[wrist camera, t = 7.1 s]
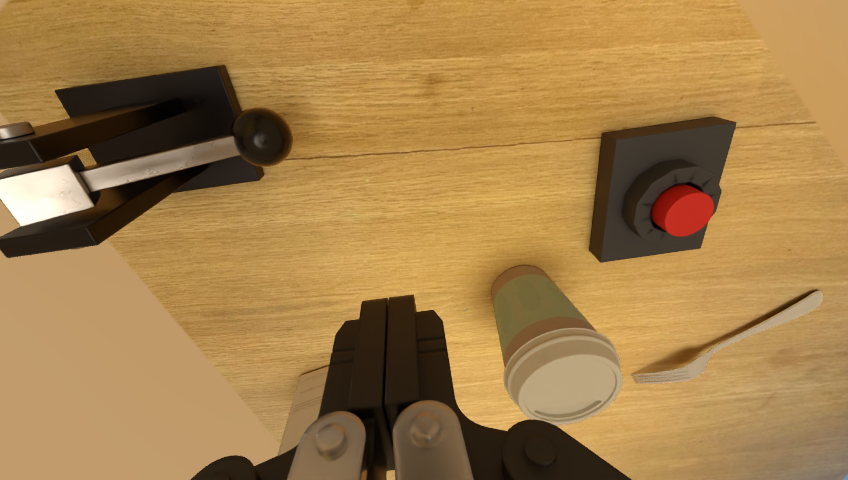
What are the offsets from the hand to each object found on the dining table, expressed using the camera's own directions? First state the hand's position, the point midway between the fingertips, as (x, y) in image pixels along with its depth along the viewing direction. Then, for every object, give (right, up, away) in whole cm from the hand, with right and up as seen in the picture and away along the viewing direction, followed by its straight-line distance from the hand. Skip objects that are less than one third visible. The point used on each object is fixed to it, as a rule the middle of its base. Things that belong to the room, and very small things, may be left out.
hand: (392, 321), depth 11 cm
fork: (+35, -9, +31) cm, 47 cm away
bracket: (-18, +10, +16) cm, 26 cm away
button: (+21, +5, +18) cm, 28 cm away
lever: (-14, +7, +10) cm, 18 cm away
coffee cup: (+10, -2, +26) cm, 28 cm away
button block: (+20, +7, +21) cm, 30 cm away
